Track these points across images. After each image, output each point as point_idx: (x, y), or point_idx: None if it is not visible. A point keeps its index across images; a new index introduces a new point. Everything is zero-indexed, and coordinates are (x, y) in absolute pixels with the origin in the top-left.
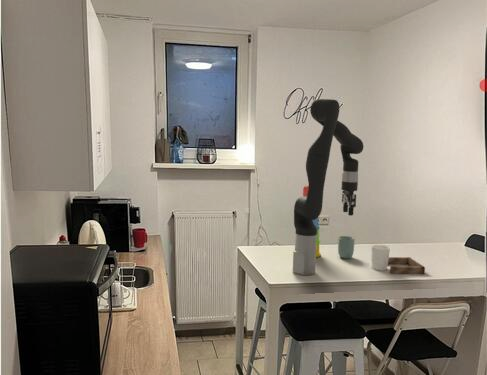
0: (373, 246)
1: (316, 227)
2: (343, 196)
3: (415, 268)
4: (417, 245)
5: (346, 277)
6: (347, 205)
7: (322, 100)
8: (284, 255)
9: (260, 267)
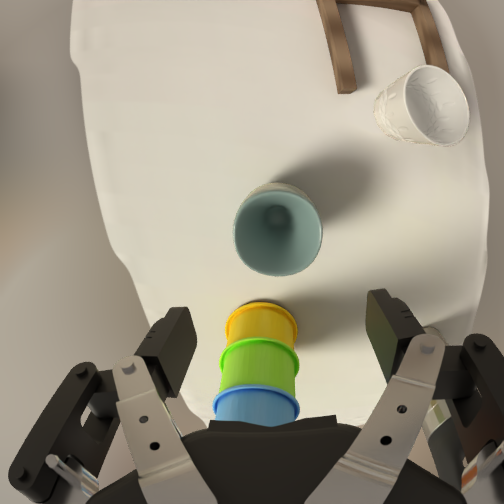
0: (415, 127)
1: (285, 402)
2: (97, 464)
3: (433, 24)
4: None
5: (468, 251)
6: (164, 357)
7: None
8: None
9: None
